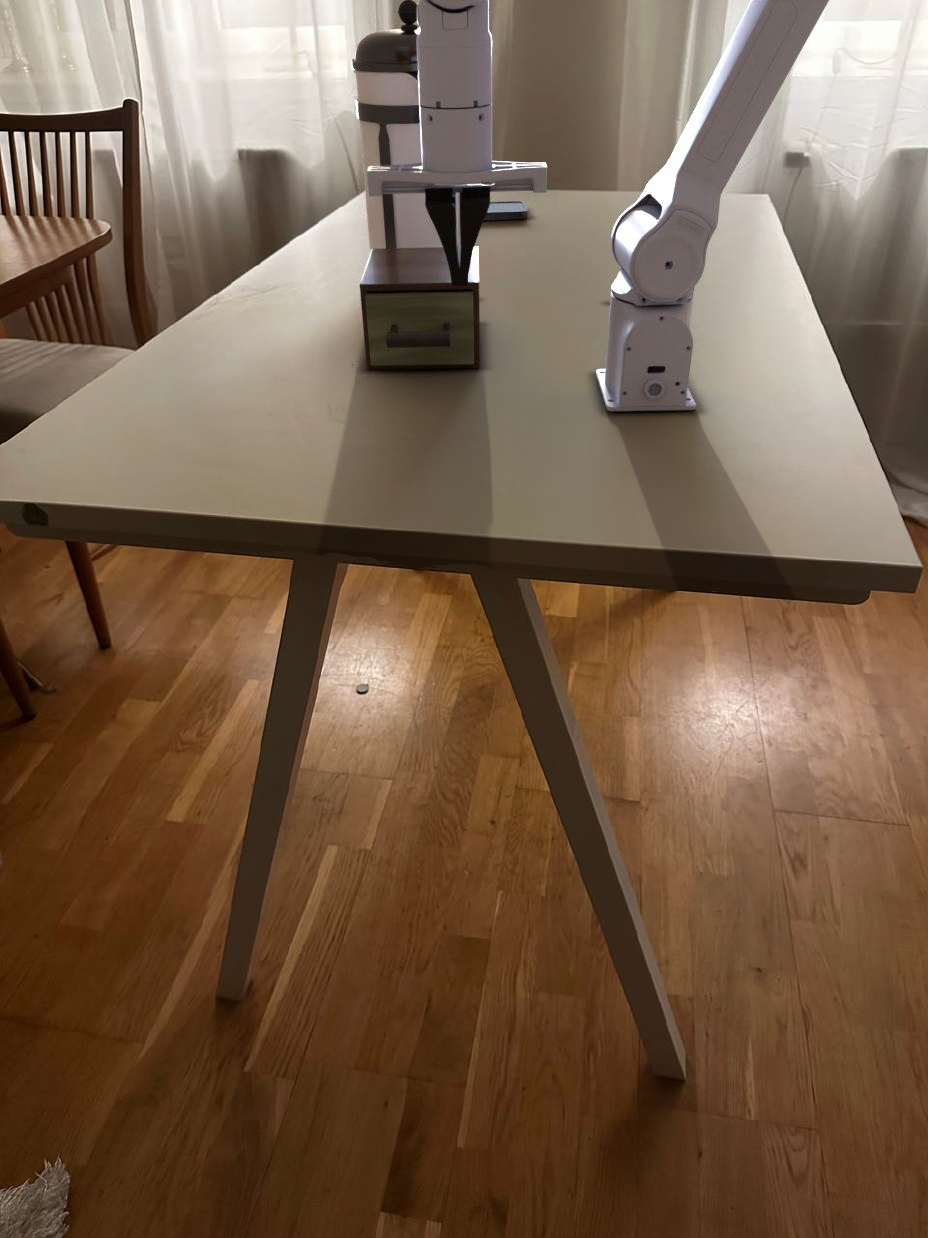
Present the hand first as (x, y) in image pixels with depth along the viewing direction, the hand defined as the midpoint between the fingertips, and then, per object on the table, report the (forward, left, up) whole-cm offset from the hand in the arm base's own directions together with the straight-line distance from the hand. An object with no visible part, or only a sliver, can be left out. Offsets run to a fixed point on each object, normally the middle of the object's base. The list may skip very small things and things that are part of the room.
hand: (459, 282), depth 79 cm
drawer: (+10, +4, -10) cm, 14 cm away
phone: (+75, -2, -10) cm, 76 cm away
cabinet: (+14, +4, -10) cm, 18 cm away
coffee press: (+34, +6, -11) cm, 36 cm away
